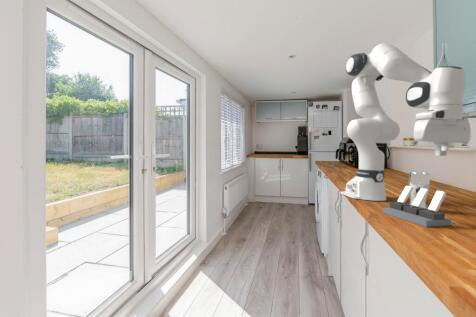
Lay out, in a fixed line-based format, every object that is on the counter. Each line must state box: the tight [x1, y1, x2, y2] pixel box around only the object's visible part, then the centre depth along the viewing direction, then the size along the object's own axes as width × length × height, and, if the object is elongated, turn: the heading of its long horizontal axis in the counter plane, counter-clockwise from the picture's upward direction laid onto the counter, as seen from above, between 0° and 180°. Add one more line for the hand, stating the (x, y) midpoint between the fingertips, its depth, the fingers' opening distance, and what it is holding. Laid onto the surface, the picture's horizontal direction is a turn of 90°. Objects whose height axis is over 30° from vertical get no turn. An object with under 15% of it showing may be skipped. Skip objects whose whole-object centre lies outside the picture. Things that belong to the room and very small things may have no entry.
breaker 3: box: [427, 190, 447, 212], centre depth 82 cm, size 2×1×7 cm, turn 13°
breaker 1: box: [397, 185, 413, 204], centre depth 93 cm, size 2×1×7 cm
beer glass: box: [408, 171, 431, 209], centre depth 102 cm, size 7×7×15 cm
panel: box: [382, 201, 452, 228], centre depth 87 cm, size 17×10×4 cm, turn 13°
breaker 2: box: [412, 188, 430, 208], centre depth 88 cm, size 2×1×7 cm
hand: (440, 155), depth 85 cm, fingers closed
